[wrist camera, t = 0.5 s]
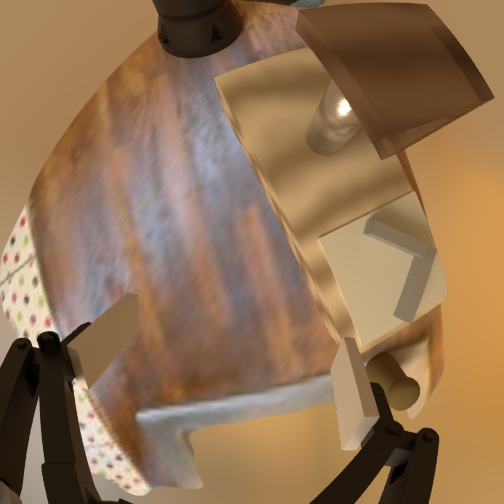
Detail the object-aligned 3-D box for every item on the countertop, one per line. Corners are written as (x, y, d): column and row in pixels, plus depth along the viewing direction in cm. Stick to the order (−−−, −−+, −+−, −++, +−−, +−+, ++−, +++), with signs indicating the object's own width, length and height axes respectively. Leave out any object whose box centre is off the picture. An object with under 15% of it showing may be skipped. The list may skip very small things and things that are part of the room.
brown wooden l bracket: (277, 120, 29) (299, 10, 11) (361, 92, 29) (427, 4, 11) (314, 189, 30) (386, 131, 12) (396, 154, 29) (494, 97, 11)
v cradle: (317, 238, 30) (324, 238, 27) (413, 191, 29) (425, 187, 27) (361, 345, 30) (370, 354, 28) (446, 291, 30) (459, 294, 27)
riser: (222, 110, 39) (214, 77, 29) (312, 77, 39) (325, 43, 29) (329, 333, 40) (349, 359, 30) (412, 286, 40) (448, 297, 30)
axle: (305, 118, 29) (330, 61, 17) (342, 124, 29) (381, 73, 17) (304, 152, 29) (332, 106, 17) (342, 158, 29) (387, 118, 17)
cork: (377, 347, 41) (408, 375, 30) (401, 360, 41) (432, 387, 30) (357, 377, 41) (381, 411, 30) (381, 388, 41) (408, 420, 30)
